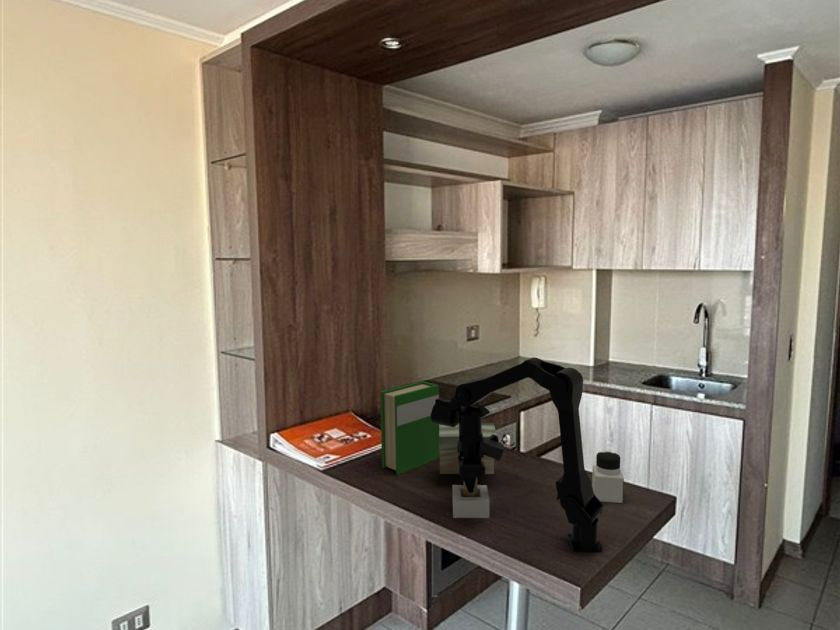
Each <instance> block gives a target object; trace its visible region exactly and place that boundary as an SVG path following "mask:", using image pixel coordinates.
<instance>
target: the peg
mask: <svg viewBox="0 0 840 630" xmlns="http://www.w3.org/2000/svg"><path fill="white" fill-rule="evenodd" d="M463 485H464V497H477V485H478V477H477V478H476V482H475V486H474V491H473V493H469V492H468V490H467V487H466V485H465V483H464V482H463Z"/></svg>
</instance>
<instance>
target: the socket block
mask: <svg viewBox="0 0 840 630" xmlns="http://www.w3.org/2000/svg"><path fill="white" fill-rule="evenodd" d="M452 518H453V519H490V496H489V491H488V485H486V484H483V485H482V484H477V497H464V484H452Z"/></svg>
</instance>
